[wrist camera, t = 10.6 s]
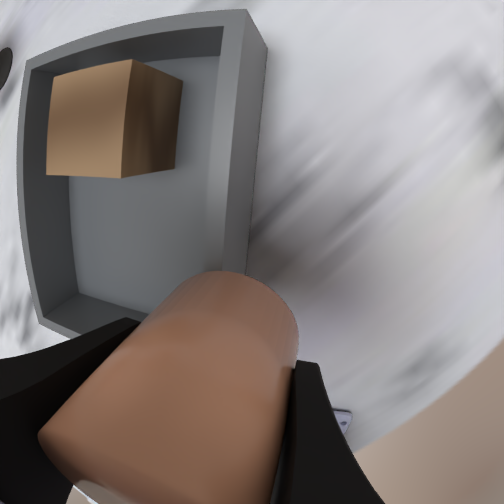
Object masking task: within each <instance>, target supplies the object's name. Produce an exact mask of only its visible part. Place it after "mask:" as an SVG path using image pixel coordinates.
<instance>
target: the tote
mask: <svg viewBox="0 0 504 504" xmlns="http://www.w3.org/2000/svg"><path fill="white" fill-rule="evenodd" d="M267 49H268V48H267V46H266V44H265V42H264V40H263V38H262V36H261V35H260V33H259V31H258V29H257V27H256V25H255V23H254V22H253V20H252V18H251V16H250V14H249V13H248V11H247V9H235V10H218V11H206V12H197V13H188V14H181V15H174V16H168V17H162V18H157V19H151V20H146V21H142V22H137V23H133V24H129V25H125V26H121V27H117V28H113V29H109V30H106V31H103V32H99V33H96V34H93V35H90V36H87V37H84V38H81V39H78V40H75V41H72V42H69V43H67V44H64V45H62V46H59V47H56V48H54V49H52V50H49V51H47V52H44V53H42V54H40V55H38V56H35V57H33V58H31V59H29V60H27V61H26V66H25V71H24V77H23V84H22V91H21V98H20V107H19V118H18V132H17V196H18V210H19V221H20V230H21V238H22V246H23V252H24V259H25V264H26V270H27V275H28V280H29V285H30V290H31V294H32V298H33V302H34V306H35V310H36V314H37V318H38V322H39V324H41V325H43V326H45V327H47V328H49V329H51V330H53V331H55V332H57V333H59V334H61V335H63V336H66V337H68V338H70V339H73V338H75V337H78V336H80V335H82V334H85V333H87V332H90V331H92V330H94V329H97V328H99V327H101V326H104V325H106V324H109V323H111V322H114V321H116V320H119V319H122V318H124V317H128V318H131V319H134V320H137V321H140V322H142V321H143V320H144V319H145V318H146V317H147V316H148V315H149V314H150V313H151V312H152V311H153V310H154V309H155V308H156V307H157V306H158V305H159V304H160V303H161V302H162V301H163V300H164V299H165V298H166V297H167V296H168V295H169V294H170V293H171V292H172V291H173V290H174V289H175V288H176V287H177V286H178V285H180V284H181V283H182V282H183V281H185V280H186V279H188V278H190V277H192V276H194V275H197V274H200V273H204V272H209V271H229V272H235V273H239V274H243V275H245V273H246V263H247V252H248V241H249V231H250V220H251V210H252V200H253V189H254V179H255V169H256V158H257V148H258V138H259V128H260V118H261V108H262V98H263V88H264V78H265V68H266V58H267ZM130 59H133V60H136V61H138V62H141V63H143V64H146V65H148V66H151V67H153V68H155V69H158V70H160V71H162V72H165V73H167V74H169V75H171V76H173V77H176V78H178V79H180V80H182V81H183V88H182V96H181V104H180V113H179V123H178V133H177V144H176V156H175V169H173V170H166V171H160V172H154V173H148V174H142V175H136V176H131V177H126V178H106V177H88V176H65V175H46V160H47V135H48V121H49V111H50V102H51V94H52V87H53V80H54V77H56V76H59V75H63V74H66V73H70V72H74V71H78V70H82V69H86V68H90V67H94V66H99V65H103V64H108V63H113V62H119V61H124V60H130Z"/></svg>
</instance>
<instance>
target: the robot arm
mask: <svg viewBox="0 0 504 504" xmlns="http://www.w3.org/2000/svg"><path fill="white" fill-rule="evenodd" d="M140 324H141V322H140V321H137V320H134V319H131V318H128V317H124V318H122V319H119V320H116V321H114V322H111V323H109V324H106V325H104V326H101V327H99V328H97V329H94V330H92V331H90V332H87V333H85V334H82V335H80V336H78V337H75V338H73V339H70V340H67V341H65V342H62V343H59V344H56V345H54V346H51V347H48V348H45V349H42V350H39V351H35V352H32V353H28V354H24V355H20V356H16V357H11V358H4V359H0V504H66V502H67V499H68V496H69V494H70V491H71V489H72V487H73V483H71V482H70V481H69V480H68V479H67V478H66V477H65V476H64V475H63V474H62V473H61V472H60V471H59V470H58V469H57V468H56V467H55V465H54V464H53V463H52V462H51V461H50V459H49V458H48V457H47V455H46V454H45V452H44V451H43V449H42V447H41V445H40V443H39V440H38V432H39V431H40V430H41V428H42V427H43V426H44V425H45V424H46V423H47V422H48V421H49V420H50V418H51V417H52V416H53V415H54V414H55V413H56V412H57V411H58V410H59V409H60V408H61V406H62V405H63V404H64V403H65V402H66V401H67V400H68V399H69V398H70V397H71V396H72V395H73V393H74V392H75V391H76V390H77V389H78V388H79V387H80V386H81V385H82V384H83V383H84V382H85V381H86V380H87V379H88V377H89V376H90V375H91V374H92V373H93V372H94V371H95V370H96V369H97V368H98V367H99V366H100V365H101V364H102V363H103V362H104V361H105V360H106V359H107V357H108V356H109V355H110V354H111V353H112V352H113V351H114V350H115V349H116V348H117V347H118V346H119V345H120V344H121V343H122V342H123V341H124V340H125V339H126V338H127V337H128V336H129V335H130V334H131V333H132V332H133V331H134V330H135V329H136V328H137V327H138V326H139V325H140ZM351 420H352V414H351V413H348V412H340V411H333V409H332V407H331V404H330V401H329V398H328V395H327V392H326V389H325V386H324V383H323V379H322V376H321V372H320V367H319V365H318V364H317V363H312V362H306V361H301V360H297V361H296V365H295V368H294V374H293V381H292V387H291V393H290V402H289V410H288V417H287V422H286V428H285V433H284V439H283V444H282V449H281V454H280V459H279V464H278V469H277V474H276V479H275V484H274V488H273V493H272V497H271V501H270V504H385V503H384V502H383V500H382V499H381V498H380V496H379V495H378V494H377V492H376V491H375V490H374V488H373V487H372V485H371V484H370V482H369V481H368V479H367V478H366V476H365V474H364V473H363V471H362V469H361V468H360V466H359V464H358V463H357V461H356V459H355V457H354V455H353V454H352V452H351V450H350V448H349V446H348V444H347V442H346V439H345V437H344V434H345V432H346V430H347V428H348V426H349V424H350V422H351ZM343 421H345V422H343Z"/></svg>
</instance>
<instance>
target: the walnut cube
mask: <svg viewBox="0 0 504 504" xmlns="http://www.w3.org/2000/svg"><path fill="white" fill-rule="evenodd" d="M182 88H183V81H182V80H180V79H178V78H176V77H173V76H171V75H169V74H167V73H165V72H162V71H160V70H158V69H155V68H153V67H151V66H148V65H146V64H143V63H141V62H138V61H136V60H133V59H130V60H124V61H119V62H113V63H108V64H103V65H99V66H94V67H90V68H86V69H82V70H78V71H74V72H70V73H66V74H63V75H59V76H56V77H54V80H53V87H52V94H51V102H50V111H49V121H48V135H47V160H46V175H65V176H88V177H106V178H126V177H131V176H136V175H142V174H148V173H154V172H160V171H166V170H173V169H175V156H176V144H177V133H178V123H179V113H180V104H181V96H182Z"/></svg>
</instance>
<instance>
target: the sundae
mask: <svg viewBox="0 0 504 504" xmlns="http://www.w3.org/2000/svg"><path fill="white" fill-rule="evenodd" d="M11 63H12V52H11V49H10V48H5V49H3V50H2V51H1V52H0V89H1V88H2V86H3V85H4V83H5V81H6V79H7V77H8V74H9V71H10V68H11Z"/></svg>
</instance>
